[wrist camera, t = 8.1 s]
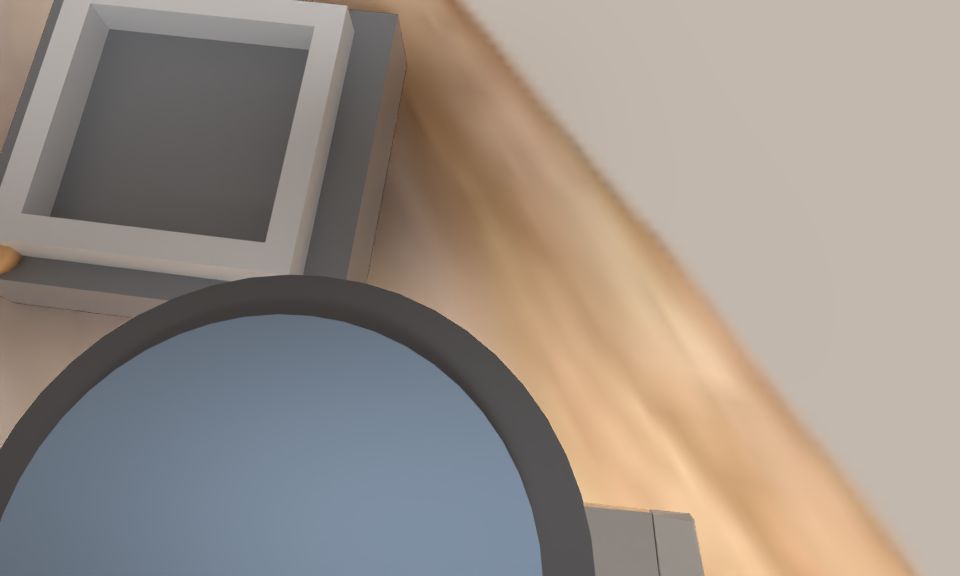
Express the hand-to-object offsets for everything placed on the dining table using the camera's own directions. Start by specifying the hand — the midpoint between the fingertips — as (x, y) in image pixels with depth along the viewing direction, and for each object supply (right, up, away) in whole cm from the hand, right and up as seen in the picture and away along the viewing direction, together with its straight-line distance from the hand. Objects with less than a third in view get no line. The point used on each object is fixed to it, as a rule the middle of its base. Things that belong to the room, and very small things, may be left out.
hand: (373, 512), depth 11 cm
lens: (0, -2, +5) cm, 5 cm away
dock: (-8, +7, +19) cm, 22 cm away
